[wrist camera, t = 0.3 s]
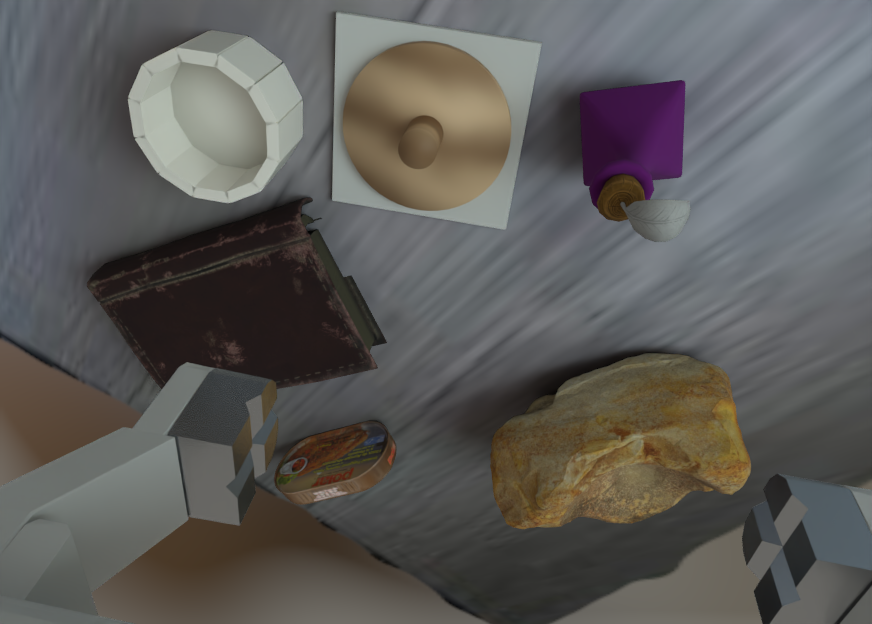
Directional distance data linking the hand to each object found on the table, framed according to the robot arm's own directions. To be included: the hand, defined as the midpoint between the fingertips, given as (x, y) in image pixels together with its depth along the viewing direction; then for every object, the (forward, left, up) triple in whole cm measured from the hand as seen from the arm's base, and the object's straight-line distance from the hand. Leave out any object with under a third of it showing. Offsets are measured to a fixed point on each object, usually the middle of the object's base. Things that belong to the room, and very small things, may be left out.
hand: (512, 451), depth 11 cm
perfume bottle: (+9, +8, -47) cm, 48 cm away
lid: (+12, -8, -46) cm, 48 cm away
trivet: (+12, -8, -46) cm, 48 cm away
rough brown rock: (+40, +15, -47) cm, 63 cm away
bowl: (+13, -25, -46) cm, 54 cm away
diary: (+34, -25, -47) cm, 63 cm away
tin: (+51, -14, -47) cm, 70 cm away
